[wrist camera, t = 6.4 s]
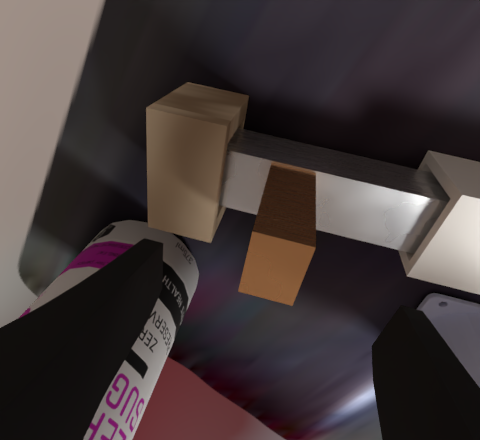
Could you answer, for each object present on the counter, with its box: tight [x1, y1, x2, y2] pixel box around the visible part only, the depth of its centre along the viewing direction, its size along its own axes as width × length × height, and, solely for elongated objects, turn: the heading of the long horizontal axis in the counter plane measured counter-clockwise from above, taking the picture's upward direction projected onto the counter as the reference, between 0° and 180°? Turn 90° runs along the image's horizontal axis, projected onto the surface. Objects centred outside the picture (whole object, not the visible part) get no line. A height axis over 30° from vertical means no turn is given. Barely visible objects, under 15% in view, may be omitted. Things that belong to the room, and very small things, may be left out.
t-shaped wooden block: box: [219, 128, 450, 306], centre depth 14 cm, size 15×3×8 cm, turn 81°
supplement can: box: [19, 220, 199, 440], centre depth 18 cm, size 8×8×15 cm
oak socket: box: [146, 82, 249, 243], centre depth 16 cm, size 3×6×5 cm, turn 171°
